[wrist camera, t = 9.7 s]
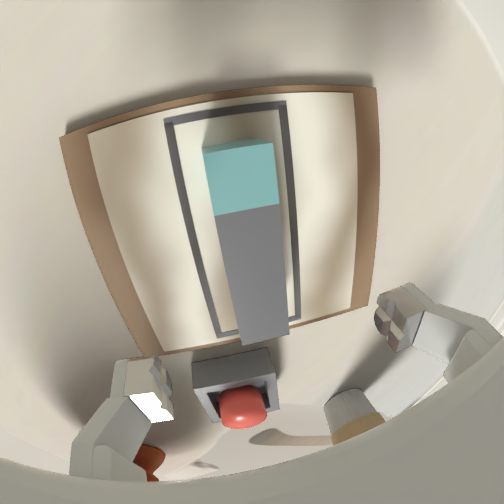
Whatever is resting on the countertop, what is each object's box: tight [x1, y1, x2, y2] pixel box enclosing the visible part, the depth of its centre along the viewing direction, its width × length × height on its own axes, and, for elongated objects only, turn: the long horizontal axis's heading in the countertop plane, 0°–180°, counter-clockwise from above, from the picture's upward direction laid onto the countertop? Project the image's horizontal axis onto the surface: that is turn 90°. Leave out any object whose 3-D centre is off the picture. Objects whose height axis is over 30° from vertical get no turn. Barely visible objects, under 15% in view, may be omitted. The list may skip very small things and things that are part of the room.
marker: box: [201, 138, 289, 346], centre depth 16 cm, size 12×3×3 cm, turn 7°
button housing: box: [191, 347, 280, 423], centre depth 24 cm, size 7×7×3 cm
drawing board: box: [59, 85, 380, 357], centre depth 18 cm, size 20×18×1 cm
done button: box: [218, 385, 267, 429], centre depth 22 cm, size 4×4×3 cm
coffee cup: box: [324, 389, 385, 446], centre depth 26 cm, size 9×9×15 cm
